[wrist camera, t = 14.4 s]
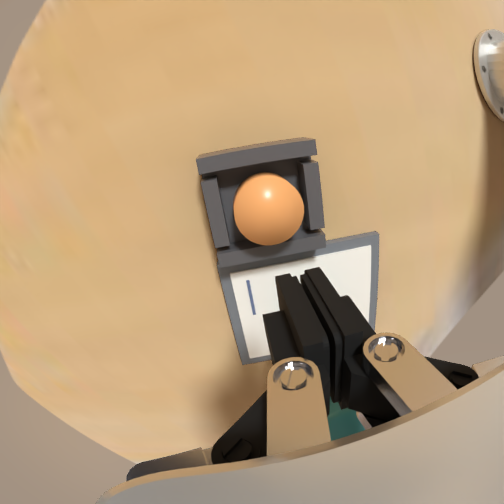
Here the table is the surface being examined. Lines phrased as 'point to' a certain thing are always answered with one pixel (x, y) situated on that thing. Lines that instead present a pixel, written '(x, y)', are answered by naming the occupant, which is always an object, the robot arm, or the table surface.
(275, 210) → the button
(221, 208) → the button housing
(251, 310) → the drawing board
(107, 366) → the table surface
